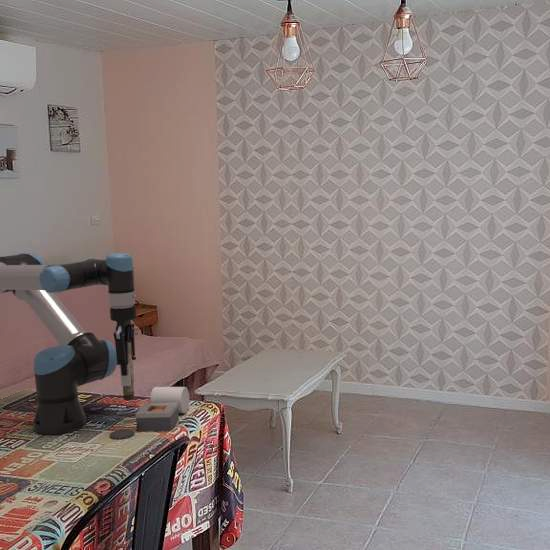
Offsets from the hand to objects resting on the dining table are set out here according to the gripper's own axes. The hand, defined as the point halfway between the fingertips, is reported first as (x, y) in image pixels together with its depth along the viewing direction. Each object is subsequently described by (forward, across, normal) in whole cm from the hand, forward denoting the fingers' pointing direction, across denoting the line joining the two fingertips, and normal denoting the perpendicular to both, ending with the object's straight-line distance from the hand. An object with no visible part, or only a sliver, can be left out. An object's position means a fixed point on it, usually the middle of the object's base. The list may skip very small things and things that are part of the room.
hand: (128, 383), depth 223 cm
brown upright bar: (+5, 0, 0) cm, 5 cm away
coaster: (+12, -12, -1) cm, 17 cm away
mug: (+12, +10, -11) cm, 19 cm away
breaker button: (+9, -4, -9) cm, 14 cm away
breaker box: (+11, -4, -10) cm, 15 cm away
